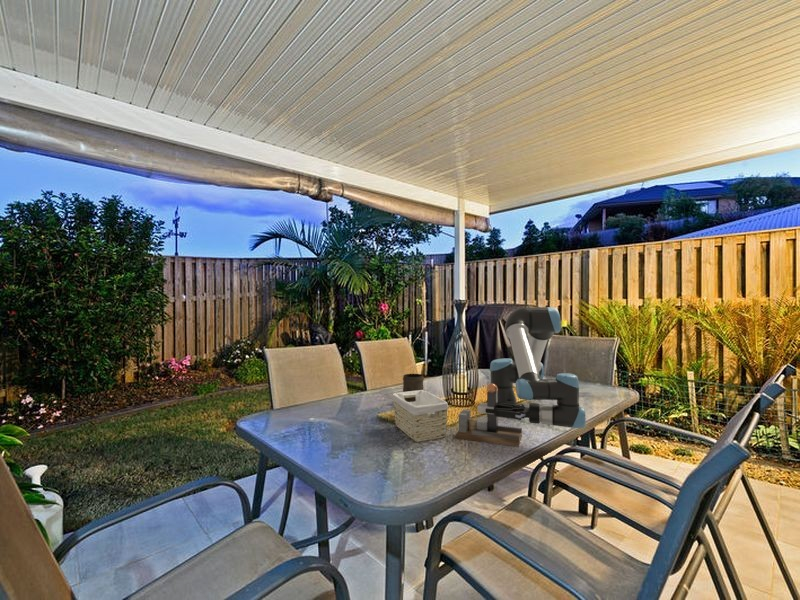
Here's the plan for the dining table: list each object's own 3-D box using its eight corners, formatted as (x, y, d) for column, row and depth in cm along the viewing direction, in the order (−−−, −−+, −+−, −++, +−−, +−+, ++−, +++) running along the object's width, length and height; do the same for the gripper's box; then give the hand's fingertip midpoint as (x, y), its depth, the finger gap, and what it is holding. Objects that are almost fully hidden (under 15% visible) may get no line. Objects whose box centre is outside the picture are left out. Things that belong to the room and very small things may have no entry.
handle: (480, 427, 154) (479, 380, 154) (499, 430, 151) (499, 382, 151) (476, 432, 148) (476, 384, 148) (497, 435, 145) (496, 385, 145)
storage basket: (450, 438, 149) (449, 401, 149) (413, 444, 143) (413, 406, 143) (424, 421, 171) (423, 389, 171) (391, 426, 165) (390, 392, 165)
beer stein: (421, 420, 172) (421, 376, 173) (399, 418, 175) (399, 375, 177) (429, 413, 186) (429, 372, 188) (409, 411, 190) (409, 371, 191)
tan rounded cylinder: (469, 428, 155) (469, 418, 155) (479, 429, 153) (479, 419, 153) (467, 431, 151) (467, 421, 151) (477, 432, 149) (477, 422, 149)
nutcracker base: (463, 428, 160) (463, 407, 160) (522, 436, 150) (521, 413, 150) (456, 438, 149) (456, 415, 149) (518, 446, 139) (518, 422, 139)
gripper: (539, 430, 134) (474, 423, 144) (541, 417, 149) (482, 411, 159) (538, 409, 134) (474, 403, 144) (541, 398, 149) (482, 393, 159)
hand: (478, 407), depth 151 cm, fingers closed on handle, 3 cm apart
